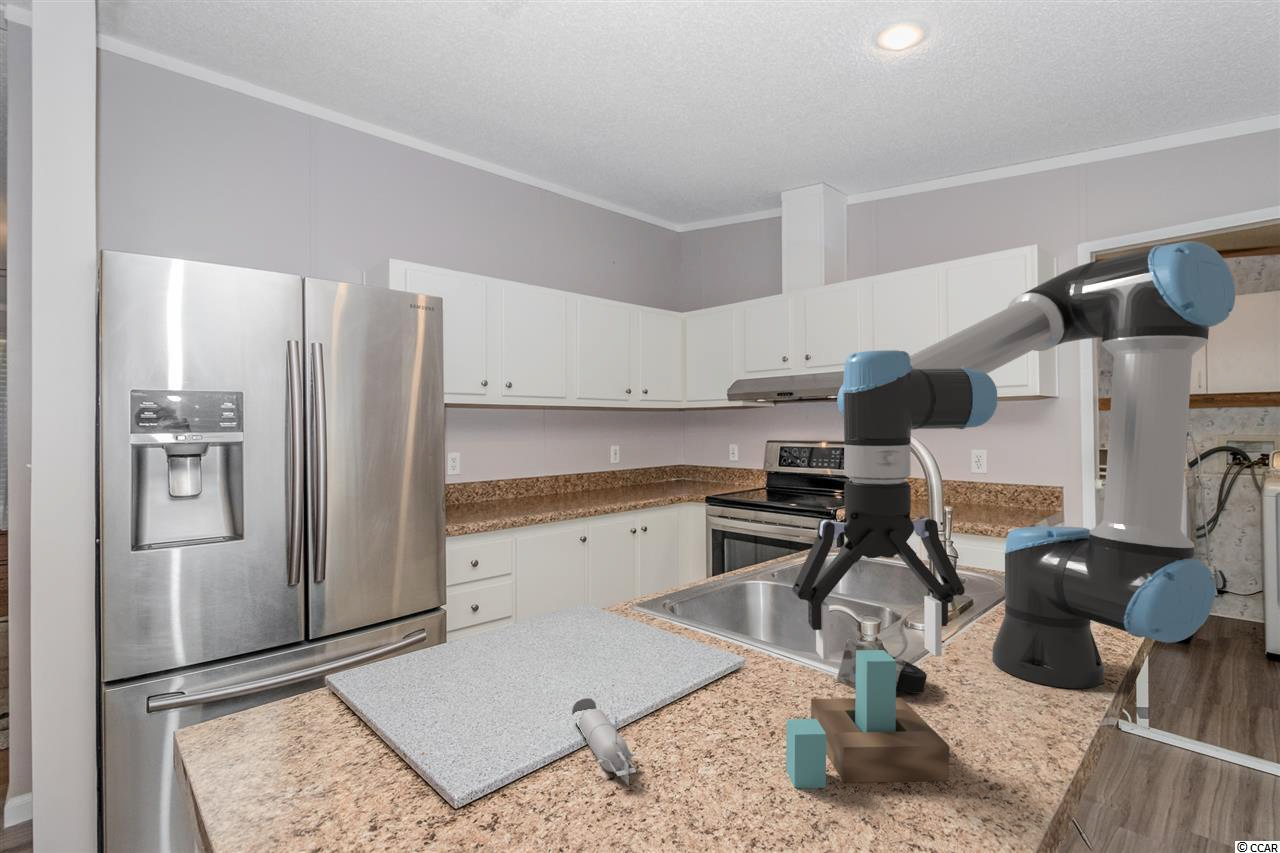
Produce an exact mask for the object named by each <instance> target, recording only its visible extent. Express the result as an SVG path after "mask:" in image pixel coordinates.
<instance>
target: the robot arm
mask: <svg viewBox="0 0 1280 853" xmlns="http://www.w3.org/2000/svg"><path fill="white" fill-rule="evenodd" d="M1235 301H1236V286H1235V280H1234V277H1233V275H1232V271H1231V268H1230V267H1229V264H1228V263H1227V261H1225V260H1224V258H1223V257H1222V255H1221V254H1220V253H1219V252H1218V251H1217V250H1216V249H1214V248H1213V247H1211V246H1209V245H1208V244H1206V243H1203V242H1200V241H1192V240H1188V241H1183V242H1182V241H1181V242H1175V243H1172V244H1159V245H1155V246H1154V247H1151V248H1148V249H1147V248H1146V249H1143V250H1139V251H1135V252H1131V253H1127V254H1122V255H1118V256H1114V257H1109V258H1106V259H1101V260H1095V261H1090V262H1087V263H1084V264H1081V265H1079V266H1076V267H1073V268H1071V269H1069V270H1067V271H1065V272H1062V273H1060V274H1058V275H1056V276H1055V277H1052V278H1051V279H1049V280H1046V281H1045V282H1043V283H1041V284H1039V285H1037V286H1035V287H1033V288H1031V289H1029V290H1028V291H1026V292H1024V293H1021V294H1019V295H1017V296H1016V297H1014V298H1013V299H1012V300H1011V301H1010V303H1009V304H1008V306H1007V308H1005V309H1003V310H1001V311H999V312H997V313H995V314H993V315H990V316H989V317H987V318H985V319H982V320H980V321H978V322H977V323H974V324H973V325H970V326H969V327H967V328H964V329H962V330H960V331H958V332H956V333H954V334H952V335H950V336H948V337H946V338H943V339H941V340H940V341H938V342H936V343H934V344H932V345H930V346H927V347H925V348H924V349H921V350H919V351H917V352H915V353H913V354H911V355H910V354H909V353H908V352H907V351H904V350H899V349H898V350H897V349H894V350H892V349H890V350H887V349H884V350H867V351H857V352H853V353H852V354H850V355H848V356H847V357H846V359H845V361H844V370H843V380H842V381H843V383H842V385H841V386H840V388H839V390H838V394H837V399H836V400H837V401H836V402H837V407H838V411H839V413H840V415H841V417H842V418H843V426H844V427H843V437H844V445H843V446H844V453H843V454H844V456H843V457H844V458H843V463H844V464H843V467H844V469H843V474H844V476H845V477H847V478H849V479H848V480H846V481H845V483H844V488H843V489H844V490H843V491H844V493H843V494H844V495H843V496H844V518H843V520H842V522H841V521H840V522H839V521H829V520H828V519H826V518H821V519H820V520H819V521H818V526H817V535H816V538H815V540H814V543H813V544H812V546H811V548H810V550H809V553H808V555H807V556H806V558H805V560H804V563H803V565H802V568H801V570H800V571H799V573H798V575H797V578H796V579H795V582H794V584H793V586H792V589H791V590H792V592H793V594H794V595H795V596H796V597H797V598H798V599H800V600H801V601H803V600H804V601H807V613H808V614H807V615H808V616H807V618H808V619H807V620H808V621H807V622H808V624H809V626H810V629H812V630H813V631H815V641H816V642H815V651H816V652H817V654H818V655H819V656H820V658H821V659H822V660H823V661H824V660H825V661H826V660H828V661H829V660H830V658H831V657H830V654H831V653H830V605H829V604H828V603H827V602H826V601H825V600H826V598H827V597H828V596H829V595H830V593H831V592H832V591H833V589H835V587H836V586H837V585H838V584H839V582H840V581H841V580H842V579H843V577H845V575H846V574H847V573H848V571H849V570H850V569H851V567H853V566H854V564H855V563H858V562H859V561H860V560H861V559H862V558H863V557H865V558H867V559H876V558H880V557H883V558H886V559H890V558H893V559H894V557H895V556H898V557H899V558H900V559H901V560H902V561H903V563H904V564H905V565H906V566H907V568H909V569H910V571H912V573H913V574H914V575H915V576H916V577H917V578H918V580H919V581H920V582H921V583H922V585H923V586H924V587H925V588H926V589H927V590H928V592H929V593H931V595H932V596H931V595H924V601H923V602H924V605H923V606H924V609H923V610H924V611H923V612H924V613H923V614H924V616H923V617H924V618H923V619H924V622H923V623H924V625H923V627H924V649H926V650H927V651H928V652H929V653H930V654H932V655H933V656H934V657H942V647H943V645H942V641H943V639H942V634H943V633H942V630H943V629H942V627H947V626H948V623H949V604H950V603H953V601H954V600H955V599H954V597H955V596H962V595H964V594H965V592H966V590H965V587H964V585H963V583H962V581H961V579H960V577H959V575H958V573H957V571H956V569H955V567H954V565H953V563H952V561H951V559H950V557H949V555H948V553H947V551H946V549H945V547H944V546H943V545H944V544H943V543H942V541H941V539H940V536H939V535H940V534H939V526H938V522H937V521H936V520H934V519H932V518H929V517H926V516H920V517H919V518H918V519H914V520H913V519H912V518H911V510H912V493H911V491H912V485H911V484H910V483H909V482H908V481H906V479H908V478H910V476H911V444H912V443H911V441H912V440H911V438H912V437H911V436H912V435H911V434H912V430H924V429H925V430H930V429H931V430H938V429H939V430H942V429H956V430H958V429H959V430H965V429H967V428H977V427H980V426H981V427H982V426H983V425H984V424H986V423H988V422H989V421H990V420H991V419H992V417H993V416H994V414H995V412H996V410H997V407H998V389H997V386H996V384H995V382H994V380H993V378H992V377H990V375H989V373H991V372H993V371H995V370H997V369H999V368H1001V367H1003V366H1005V365H1007V364H1008V363H1011V362H1013V361H1015V360H1017V359H1018V358H1021V357H1022V356H1024V355H1026V354H1029V353H1030V352H1032V351H1036V352H1043V351H1047V350H1050V349H1052V348H1054V347H1057V346H1058V345H1061V344H1064V343H1068V342H1070V343H1071V342H1074V341H1080V340H1087V339H1088V340H1089V339H1098V338H1099V339H1100V338H1102V339H1101V347H1103V348H1104V349H1105V350H1107V352H1109V353H1110V354H1111V355H1112V357H1113V366H1112V382H1111V396H1110V410H1109V411H1110V412H1109V427H1108V439H1107V440H1108V441H1107V455H1106V456H1107V457H1106V472H1105V486H1104V487H1105V488H1104V500H1103V502H1104V503H1103V518H1102V521H1101V522H1100V523H1099V524H1098V525H1096V526H1095V527H1093V528H1091V529H1089V528H1087V527H1080V526H1025V527H1016V528H1013V529H1011V530H1010V531H1009V532H1008V533H1007V536H1006V542H1005V543H1006V545H1005V551H1004V590H1005V591H1004V592H1005V593H1004V601H1005V602H1004V603H1005V605H1004V617H1003V620H1002V621H1001V622H1002V623H1001V625H1000V627H999V630H998V633H997V635H996V638H995V641H994V642H993V644H992V659H991V660H992V662H993V664H994V666H996V667H997V668H998V669H1000V670H1002V671H1003V672H1006V673H1008V674H1010V675H1011V676H1015V677H1016V678H1020V679H1022V680H1025V681H1028V682H1031V683H1032V682H1033V683H1037V684H1040V685H1044V686H1049V687H1057V688H1066V689H1067V688H1068V689H1088V688H1094V686H1095V687H1097V686H1100V685H1102V684H1103V682H1104V676H1105V674H1104V671H1105V670H1104V668H1105V667H1104V663H1103V660H1102V657H1101V655H1100V652H1099V649H1098V646H1097V643H1096V640H1095V638H1094V635H1093V632H1092V629H1091V628H1092V627H1091V621H1092V622H1096V623H1098V624H1102V625H1105V626H1108V627H1110V628H1113V629H1116V630H1120V631H1123V632H1126V633H1128V634H1129V635H1131V636H1134V637H1137V638H1145V639H1149V640H1153V641H1157V642H1160V643H1171V644H1172V643H1178V642H1181V641H1183V640H1185V639H1188V638H1190V637H1191V636H1192V635H1194V634H1195V633H1196V632H1198V631H1199V628H1201V627H1202V626H1203V625H1204V624H1205V622H1206V621H1207V620H1208V618H1209V616H1210V614H1211V612H1212V610H1213V606H1214V603H1215V599H1216V591H1217V589H1216V586H1217V585H1216V580H1215V578H1214V577H1213V576H1212V575H1213V573H1212V571H1211V569H1210V568H1209V567H1208V566H1207V565H1206V564H1204V563H1202V562H1201V561H1200V560H1199V561H1198V560H1197V559H1194V558H1195V556H1194V555H1195V543H1194V542H1193V541H1192V540H1191V539H1190V538H1188V536H1186V535H1185V534H1184V533H1183V531H1182V513H1183V500H1184V485H1185V471H1186V470H1185V469H1186V454H1187V443H1188V442H1187V440H1188V427H1189V426H1188V425H1189V413H1190V412H1189V411H1190V410H1189V408H1190V398H1191V397H1190V395H1191V379H1192V364H1193V357H1194V355H1195V354H1196V353H1197V352H1198V351H1199V350H1201V349H1202V348H1204V347H1205V346H1206V345H1207V344H1209V335H1210V334H1209V333H1210V328H1211V327H1216V326H1217V325H1219V324H1221V323H1223V322H1225V321H1227V319H1228V317H1229V316H1230V313H1231V312H1232V311H1233V309H1234V307H1235V303H1236V302H1235ZM841 533H842V535H844V536H845V538H846V539H847V540H846V541H845V542H844V543H843V545H842V546H841V547H840V549H839V551H838V553H837V555H836V556H835V557H834V558H833V560H832V561H830V563H829V564H828V566H827V567H826V568H825V569H824V570H823V572H822V573H821V574H820V575H819V573H820V572H821V570H822V568H823V565H824V564H825V562H826V559H827V557H828V555H829V553H830V552H831V548H832V546H833V543H834V541H835V540H837V539H838V537H839V535H840V534H841ZM914 533H915V534H916V536H918V537H920V540H921V542H922V544H923V546H924V548H925V550H926V551H927V554H928V556H929V559H930V560H931V561H932V562H931V563H932V564H933V566H934V568H935V570H936V573H937V574H938V576H939V578H940V579H941V582H942V583H941V582H940V581H939V580H938V579H937V577H936V576H935V575H934V574H933V572H931V570H930V569H929V568H928V567H927V565H926V564H924V562H923V561H922V559H921V558H920V557H919V556H918V555H917V552H915V550H914V549H913V547H911V546H910V545H909V543H908V540H909V539H910V538H911V536H912V534H914ZM818 576H819V577H818Z"/></svg>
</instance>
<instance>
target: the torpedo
mask: <svg viewBox="0 0 1280 853" xmlns="http://www.w3.org/2000/svg"><path fill="white" fill-rule="evenodd" d="M587 709H591V710H588V711H586V712H584V713H583V714H582V716H581V717H580V721H579V727H580V728H581V730H582V732H583V733H584V735H585V737H586V740H585V741H586V743H587V745H588V746H589V748H590V749H591V751H592V752H593V754H594V756H595V758H596V759H597V760H596V763H597V764H600V766H602V768H603V769H605V771H607V772H609V773H613V774H616V776H617V777H620V778H621V780H622V781H624V782H625V783H626V785H627V786H630V783H629V782H630V777H629V774H634V773H637V770H636V769H635V766H634V764H633V763H632V762H631V757H633V756H636V755H637V754H636V753H634V752H630V749H629V748H628V744H627V742H625V741H624V739H623V737H622V736H621V734H619V732H618V730H617V727H618V725H617V724H618V723H617V721H618V720H617V719H618V716H615V717H614V719H615V726H614V725H613V723H612V722H611V721H610V720H609V718H608V716H606V714H605V713H604V712H603V711H602V710H601V709H599V708H597V704H596V701H595V700H594V699H593V698H591V697H586V696H584V697H578V698H577V699H575V700H574V702H573V703H572V706H571V716H572V715H573V714H574V713H575V712H577V711H582V710H587Z"/></svg>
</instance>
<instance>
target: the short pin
mask: <svg viewBox="0 0 1280 853" xmlns="http://www.w3.org/2000/svg"><path fill="white" fill-rule="evenodd" d="M785 725H786V731H785V734H786V736H785V737H786V738H785V739H786V740H785V742H786V743H785V744H786V745H785V747H786V748H785V750H786V751H785V753H786V754H785V763H786V764H785V767H786V768H785V770H786V773H787V775H788V777H789V779H790V781H791V783H792V785H793V787H794V789H814V788H815V789H818V788H822V789H823V788H826V787H827V755H826V733H825V731H824V730H823V728H822V727H821V725H820V724H819V722H818V721H817V719H811V718H789V719H788V718H786V724H785Z"/></svg>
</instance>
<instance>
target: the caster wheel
mask: <svg viewBox="0 0 1280 853" xmlns="http://www.w3.org/2000/svg"><path fill="white" fill-rule="evenodd" d="M845 643H846V644H845V647H844V650H843V654H842V659H841V663H840V666H839V670H838V673H837V676H836V682H837V683H840V684H842V685H844V686H846V687H849V688H851V689H854V690H856V650H884V651H885V652H886V653H888V654H889V652H888V650H887V649H886V648H885V647H884V646H883V645H882V644H881V643H879V642H877V641H873V640H865V641H864V640H863V641H860V642H859V641H856V640H853V639H851V638H847V640H846V642H845ZM889 655H890V656H891V657H892V658H893V659H894V660H896V690H900V691H903V692H906V693H912V694H922V693H923V692H924V688H925V685H926V682H927V678H928V674H927V673H926V672H925V671H924V670H923V669H921V668H919V667H918V666H916V665H915V664H912V663H910V662H908V661H906V660H903V659H900V658H899V657H896V656H893V655H892V654H889Z"/></svg>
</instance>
